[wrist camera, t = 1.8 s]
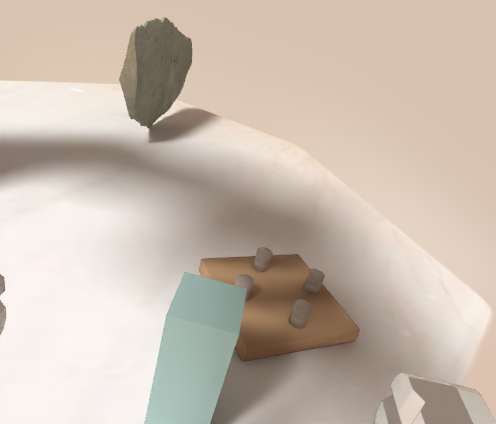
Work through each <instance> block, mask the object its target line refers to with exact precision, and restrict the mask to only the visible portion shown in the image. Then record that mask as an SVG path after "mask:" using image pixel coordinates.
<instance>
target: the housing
mask: <svg viewBox="0 0 496 424" xmlns="http://www.w3.org/2000/svg"><path fill="white" fill-rule="evenodd" d="M199 271H200V274H201V276H202V277H205V278H209V279H213V280H216V281H220V282H224V283H227V284H231V285H235V286H239V287H242V288H246V289H247V292H246V297H245V303H244V309H243V315H242V320H241V326H240V332H239V336H238V339H237V342H236V345H235V347H236V349H237V351H238V353H239V356H240V358H241V360H242V361H248V360H253V359H259V358H264V357H270V356H275V355H281V354H286V353H292V352H297V351H303V350H308V349H314V348H319V347H324V346H330V345H335V344H341V343H346V342H352V341H355V339H356V337H357V335H358V333H359V331H360V329H359V328H358V327H357V325H356V324H355V323H354V322H353V320H352V319H351V318H350V317H349V316H348V314H347V313H346V312H345V311H344V310H343V308H342V307H341V306H340V305H339V303H338V302H337V301H336V300H335V299H334V297H333V296H332V295H331V294H330V293H329V291H328V290H327V289H326V288H325V287H324V285H323V284H322V281H323V279H324V274H323V273H322V272H321V271H319V270H316V269H311V270H310V268H309V267H308V266H307V265H306V263H305V262H304V261H303V260H302V259H301V257H300V256H299V255H298V254H292V255H272V252H271V250H269V249H267V248H259V249H258V250H257V254H256V256H250V257H228V258H207V259H201V264H200V268H199Z"/></svg>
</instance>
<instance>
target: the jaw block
mask: <svg viewBox="0 0 496 424" xmlns="http://www.w3.org/2000/svg"><path fill="white" fill-rule="evenodd" d="M246 292H247V289H246V288H242V287H239V286H235V285H231V284H227V283H224V282H220V281H216V280H213V279H209V278H205V277H201V276H198V275H194V274H190V273H187V272H185V273H184V276H183V278H182V280H181V283H180V285H179V287H178V289H177V292H176V294H175V296H174V299H173V301H172V303H171V306H170V308H169V310H168V313H167V315H166V320H165V325H164V330H163V335H162V340H161V345H160V350H159V355H158V359H157V364H156V369H155V374H154V379H153V384H152V389H151V394H150V399H149V404H148V409H147V414H146V419H145V424H210V423H211V420H212V417H213V414H214V411H215V408H216V404H217V401H218V398H219V395H220V392H221V389H222V386H223V383H224V380H225V376H226V373H227V370H228V367H229V364H230V361H231V358H232V355H233V352H234V348H235V345H236V342H237V339H238V336H239V332H240V326H241V320H242V315H243V309H244V303H245V297H246Z"/></svg>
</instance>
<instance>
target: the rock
mask: <svg viewBox="0 0 496 424" xmlns="http://www.w3.org/2000/svg"><path fill="white" fill-rule="evenodd" d="M191 63H192V42H191V39H190V38H188V37H185V35H183V34H182V33H181V32H180V31H178V29H177V27H174V24H173V23H171V22H170V21H169V20H168V19H167V18H165V17H164V18H162V19H161V20H159V19H157V18H155V19H154V20H150V21H146V23H145V24H144V26H142V25H141V26H140V27H136V28H135V29H134V31H133V32H132V34H131V37H130V41H129V45H128V49H127V55H126V59H125V62H124V66H123V69H122V72H121V75H120V78H119V81H120V83H121V87H122V90H123V93H124V97H125V101H126V105H127V110H128V113H129V116H130V118H131V119H135V120H136V121H137V122H140V124H141V126H147V127H148V128H149V127H151V126H152V124H153V123H154V122H155V121H156V120H157V119H158V118H159V117H160V116H161V115H163V114H165V112H167V111H168V110H169V109H170V107H171V106H172V104H173V102H174V101H175V100H176V98H177V97H178V95H179V94H180V92H181V90H182V88H183V85H184V82H185V78H186V75H187V73H188V70H189V68H190V66H191Z"/></svg>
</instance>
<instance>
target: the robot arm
mask: <svg viewBox="0 0 496 424" xmlns="http://www.w3.org/2000/svg"><path fill="white" fill-rule="evenodd" d="M4 291H5V282H4V277H3V276H2V275H0V295H1V294H2V293H3V292H4ZM5 320H6V307H5V306H4V305H3V303H2V302H1V301H0V335H1V333H2V331H3V329H4V325H5ZM391 388H392V392H393V395H392V396H390V397H388V398H386V399H384V400H382V402H381V404H380V406H379V408H378V410H377V412H376V418H375V424H496V421H495V419H494V417H493V416H492V414H491V412H490V410H489V408H488V406H487V404H486V403H485V401H484V399H483V397H482V395H480V393H478V392H477V391H476V390H475V389H471V388H467V387H462V386H458V385H454V384H447V383H444V382H439V381H435V380H431V379H427V378H423V377H418V376H414V375H410V374H406V373H402V372H401V373H400V374H398V375H397V376H396V377H395V379H394V380H393V382H392V384H391Z"/></svg>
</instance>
